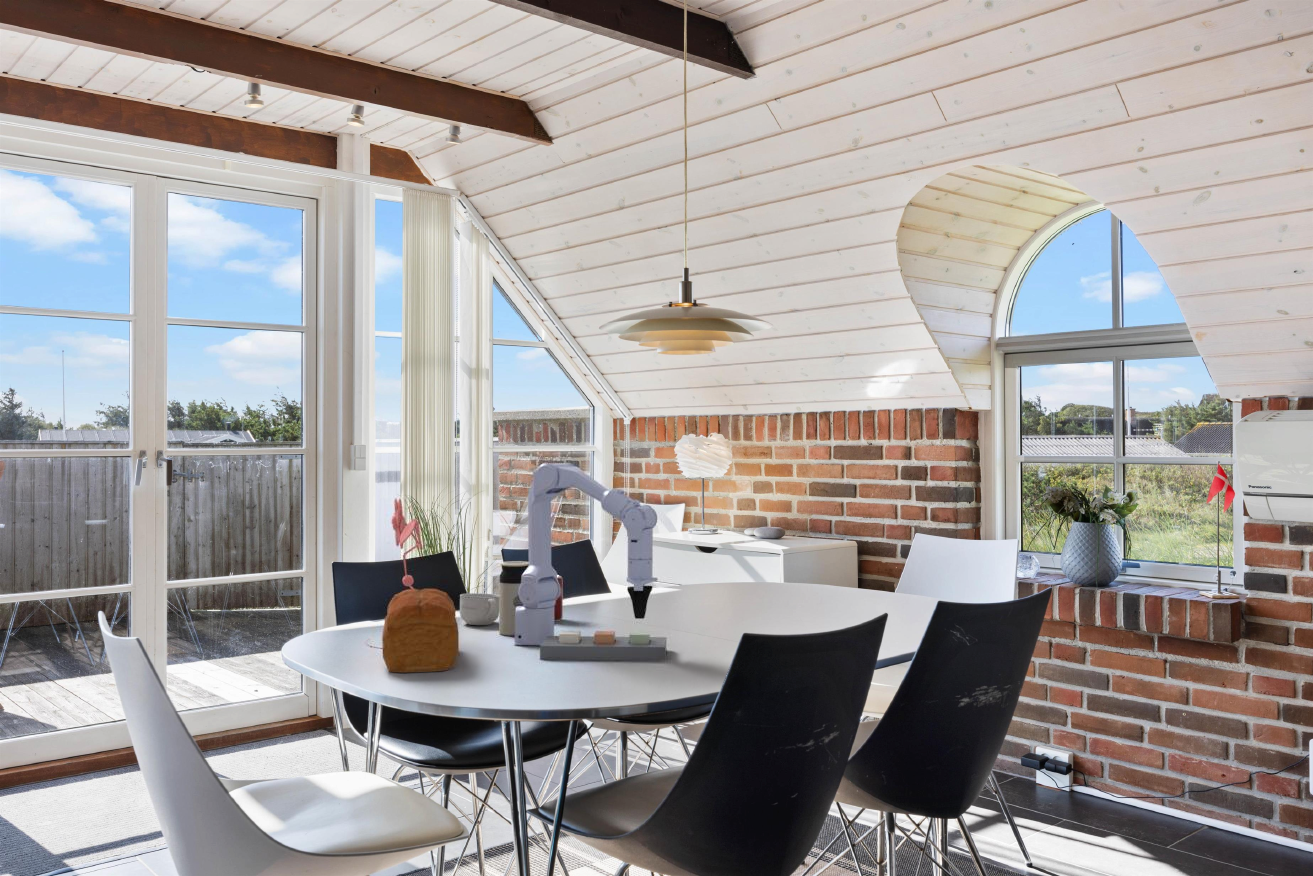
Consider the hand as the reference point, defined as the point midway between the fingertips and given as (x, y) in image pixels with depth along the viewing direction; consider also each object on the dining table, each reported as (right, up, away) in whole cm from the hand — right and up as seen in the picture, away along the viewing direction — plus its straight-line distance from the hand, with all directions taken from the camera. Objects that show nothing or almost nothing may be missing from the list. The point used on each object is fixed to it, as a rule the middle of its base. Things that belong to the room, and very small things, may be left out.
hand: (639, 618), depth 230 cm
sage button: (0, -7, 0) cm, 7 cm away
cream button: (-16, -7, 0) cm, 17 cm away
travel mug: (-32, -9, +26) cm, 42 cm away
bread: (-49, -9, -6) cm, 50 cm away
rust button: (-8, -7, 0) cm, 10 cm away
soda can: (-26, -9, +46) cm, 53 cm away
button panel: (-8, -8, 0) cm, 12 cm away
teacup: (-43, -9, +38) cm, 58 cm away
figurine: (-60, -9, +15) cm, 62 cm away
